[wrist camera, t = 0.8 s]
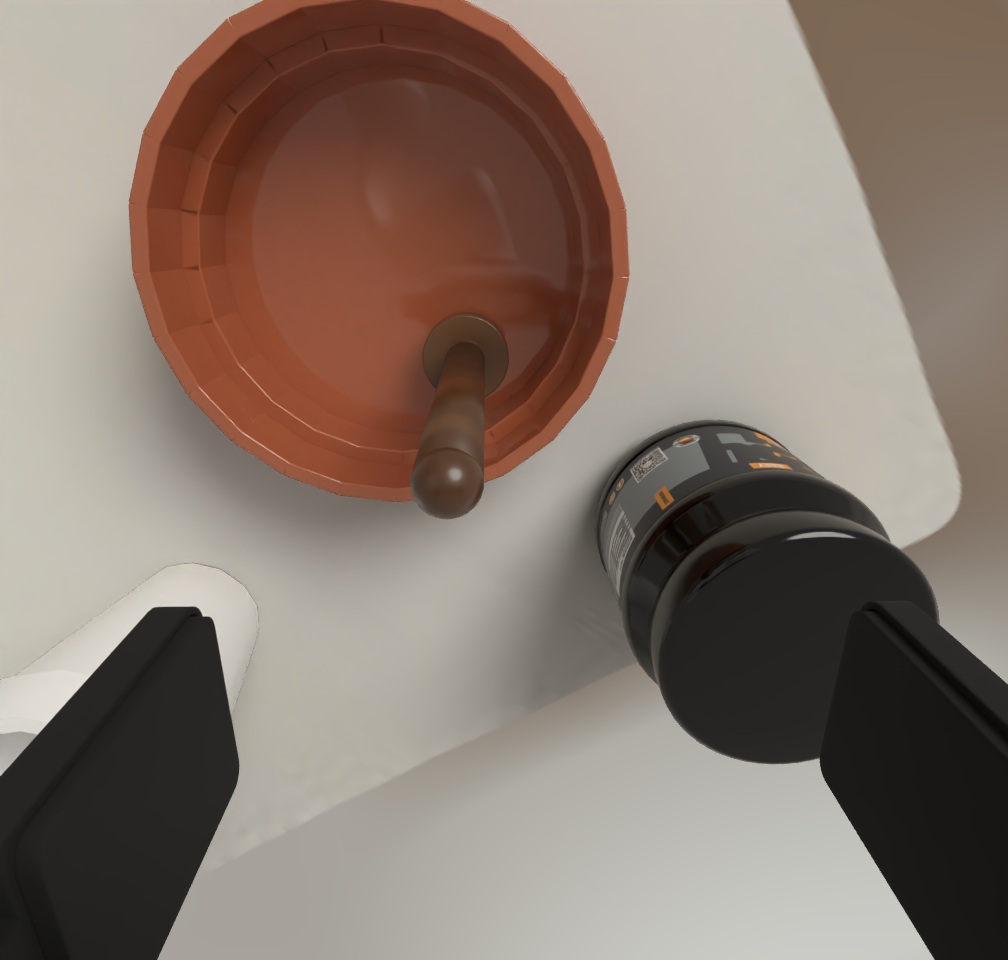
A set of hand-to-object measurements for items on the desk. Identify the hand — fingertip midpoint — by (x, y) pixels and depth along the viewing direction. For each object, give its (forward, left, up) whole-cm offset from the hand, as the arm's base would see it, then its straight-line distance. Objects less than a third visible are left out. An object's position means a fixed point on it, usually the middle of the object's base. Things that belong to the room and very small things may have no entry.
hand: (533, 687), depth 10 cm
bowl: (-6, 0, -22) cm, 23 cm away
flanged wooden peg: (-2, -1, -20) cm, 21 cm away
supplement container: (+12, +4, -22) cm, 25 cm away
